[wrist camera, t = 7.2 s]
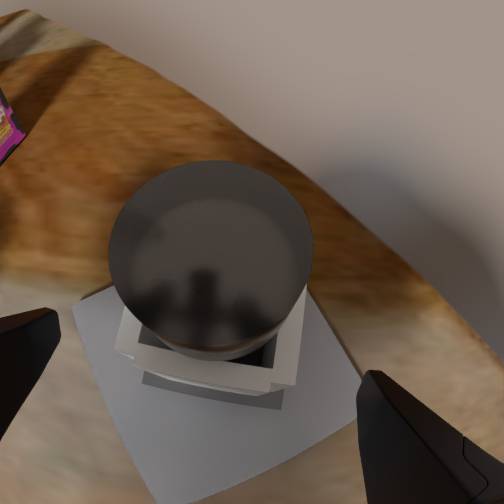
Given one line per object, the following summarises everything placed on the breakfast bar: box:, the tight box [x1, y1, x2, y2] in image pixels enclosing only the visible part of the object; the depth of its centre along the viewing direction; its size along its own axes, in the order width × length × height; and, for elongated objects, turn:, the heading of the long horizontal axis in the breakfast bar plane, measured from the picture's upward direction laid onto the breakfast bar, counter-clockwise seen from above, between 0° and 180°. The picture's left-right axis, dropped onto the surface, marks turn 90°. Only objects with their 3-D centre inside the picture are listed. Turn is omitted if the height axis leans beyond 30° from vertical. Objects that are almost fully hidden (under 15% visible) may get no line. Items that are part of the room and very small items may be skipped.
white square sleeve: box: [114, 283, 307, 410], centre depth 13 cm, size 8×6×6 cm
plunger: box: [108, 160, 314, 361], centre depth 10 cm, size 4×4×8 cm
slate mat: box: [71, 286, 362, 504], centre depth 15 cm, size 12×12×1 cm
